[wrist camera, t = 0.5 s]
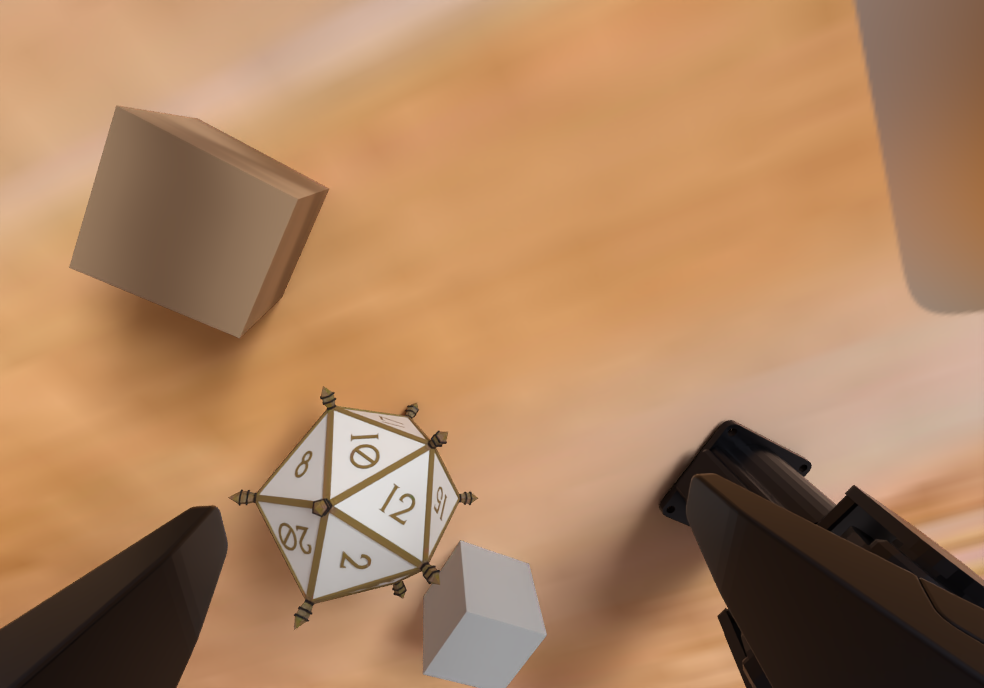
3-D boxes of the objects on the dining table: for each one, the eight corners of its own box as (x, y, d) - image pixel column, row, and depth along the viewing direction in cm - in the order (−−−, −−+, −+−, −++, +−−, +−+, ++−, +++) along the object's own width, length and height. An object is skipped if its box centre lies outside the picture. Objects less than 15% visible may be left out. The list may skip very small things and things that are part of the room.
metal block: (329, 188, 19) (297, 199, 14) (282, 296, 20) (239, 338, 16) (198, 118, 17) (116, 105, 13) (157, 240, 19) (69, 267, 14)
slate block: (528, 562, 27) (547, 634, 23) (490, 615, 29) (501, 693, 25) (460, 539, 26) (466, 611, 22) (423, 595, 27) (423, 674, 23)
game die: (371, 436, 27) (262, 624, 21) (302, 329, 21) (120, 546, 15) (519, 467, 24) (441, 700, 18) (484, 351, 18) (351, 640, 12)
